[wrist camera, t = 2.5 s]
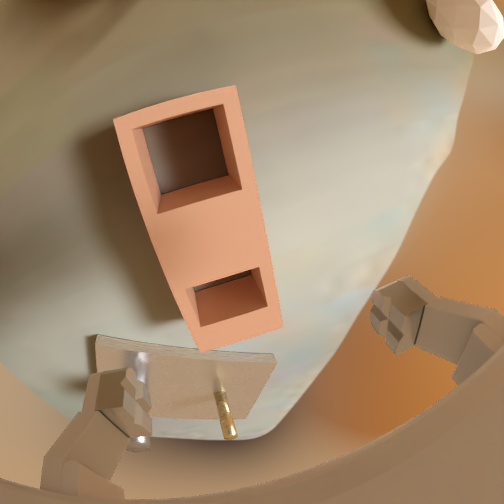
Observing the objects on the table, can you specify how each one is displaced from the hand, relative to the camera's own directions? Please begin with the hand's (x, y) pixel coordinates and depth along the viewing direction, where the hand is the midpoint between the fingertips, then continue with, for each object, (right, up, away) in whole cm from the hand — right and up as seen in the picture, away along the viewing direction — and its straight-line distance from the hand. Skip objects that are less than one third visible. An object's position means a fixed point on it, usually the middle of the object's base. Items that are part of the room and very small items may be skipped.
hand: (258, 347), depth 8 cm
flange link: (-3, +5, +10) cm, 12 cm away
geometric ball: (+17, +25, +6) cm, 31 cm away
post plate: (-7, -10, +16) cm, 20 cm away
